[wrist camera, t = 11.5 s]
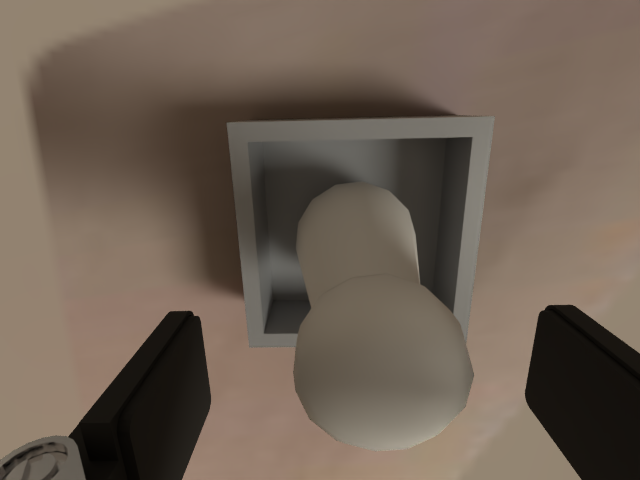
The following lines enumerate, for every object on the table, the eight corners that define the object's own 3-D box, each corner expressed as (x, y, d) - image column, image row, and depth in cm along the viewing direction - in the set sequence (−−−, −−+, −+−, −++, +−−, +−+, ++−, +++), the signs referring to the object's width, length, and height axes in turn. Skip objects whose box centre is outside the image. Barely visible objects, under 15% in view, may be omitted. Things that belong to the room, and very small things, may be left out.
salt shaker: (395, 279, 21) (484, 508, 9) (296, 269, 21) (250, 486, 9) (413, 179, 19) (558, 295, 7) (304, 168, 19) (261, 266, 7)
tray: (440, 302, 23) (465, 345, 19) (263, 304, 23) (249, 347, 19) (457, 115, 19) (494, 116, 15) (248, 120, 20) (226, 122, 15)
